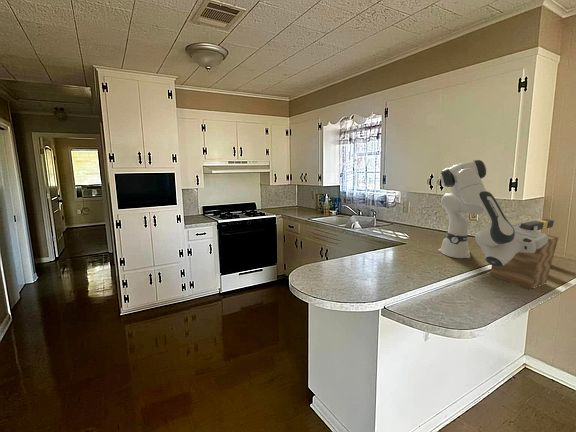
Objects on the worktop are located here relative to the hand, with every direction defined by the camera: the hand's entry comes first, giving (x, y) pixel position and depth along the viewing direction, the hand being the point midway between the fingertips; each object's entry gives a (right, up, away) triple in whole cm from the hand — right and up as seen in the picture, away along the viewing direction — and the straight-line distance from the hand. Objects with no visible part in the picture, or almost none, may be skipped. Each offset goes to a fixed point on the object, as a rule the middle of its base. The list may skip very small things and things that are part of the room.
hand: (530, 225), depth 156 cm
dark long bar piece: (+6, -2, +4) cm, 7 cm away
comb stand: (+6, -29, +18) cm, 35 cm away
